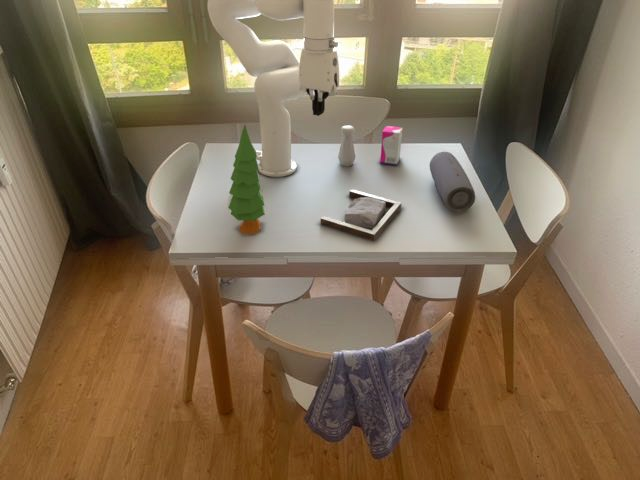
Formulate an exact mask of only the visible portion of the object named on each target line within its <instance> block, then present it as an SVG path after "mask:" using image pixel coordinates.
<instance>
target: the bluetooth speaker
mask: <svg viewBox="0 0 640 480" xmlns="http://www.w3.org/2000/svg"><path fill="white" fill-rule="evenodd" d="M429 171H430V174H431V178H432V180H433V183H434V187H435V188H436V190H437V192H438V194H439V197H440V198H441V200H442V201H443V203H444V204H445V206H446V208H447V209H448V210H450V211H451V212H454V213H462V212H466V211H468V210H469V209H471V208H472V207H473V206H474V204H475V202H476V193H475V189H474V187H473V185H472V182H471V181H470V178H469V177H468V175H467V173H466V172H465V170H464V168H463V166H462V165H461V163H460V161H459V160H458V159H457V157H456V156H454V154H453V153H451V152H449V151H440V152H437V153H436V154H434V155H433V157H431V159H430V161H429Z"/></svg>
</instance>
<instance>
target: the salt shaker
mask: <svg viewBox="0 0 640 480" xmlns="http://www.w3.org/2000/svg"><path fill="white" fill-rule="evenodd" d="M340 129H341V130H340V133H341V135H342V137H341V141H340V146H339V151H338V156H337V159H338V162H339V164H340V165H341V166H343V167H351V166H353V164H354V162H355V160H356V151H355V145H354V138H353V136H354V134H355V128H354V126H352V125H343V126H341V128H340Z"/></svg>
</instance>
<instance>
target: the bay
mask: <svg viewBox="0 0 640 480" xmlns="http://www.w3.org/2000/svg"><path fill="white" fill-rule="evenodd" d="M348 194H349V195H348V197H349V198H352V199H357V198H364V197H369V198H374V199H377V200H381V201H383V202H386V209H388V211H387V212H386V213H384V216H382V217H381V218H380V220H379V222H378V224H377V225H376V226H375V227H374V228H373V229H365V228H362V227H358V226H355V225H352V224H348V223H346V221H341V220H338V219H334V218H332V217H329V216H325V215H323V216H321V217H320V225H321V226H324V227H327V228H330V229H333V230H337V231H339V232H343V233H347V234H350V235H353V236H356V237H359V238H363V239H366V240H369V241H372V242H374V241H375V240H376V239H377V238H378V237H379V235H381V233H382V232H383V231H384V230H385V228H386V227H387V226H388V224H390V222H391V221H392V220H393V219H394V218H395V216H396V215H397V214H398V213H399V212H400V210H401V209H402V202H400V201H398V200H393V199H390V198H386V197H383V196H379V195H374V194H370V193H367V192H364V191H360V190H356V189H353V188H351V189H350V190H349V193H348Z"/></svg>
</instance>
